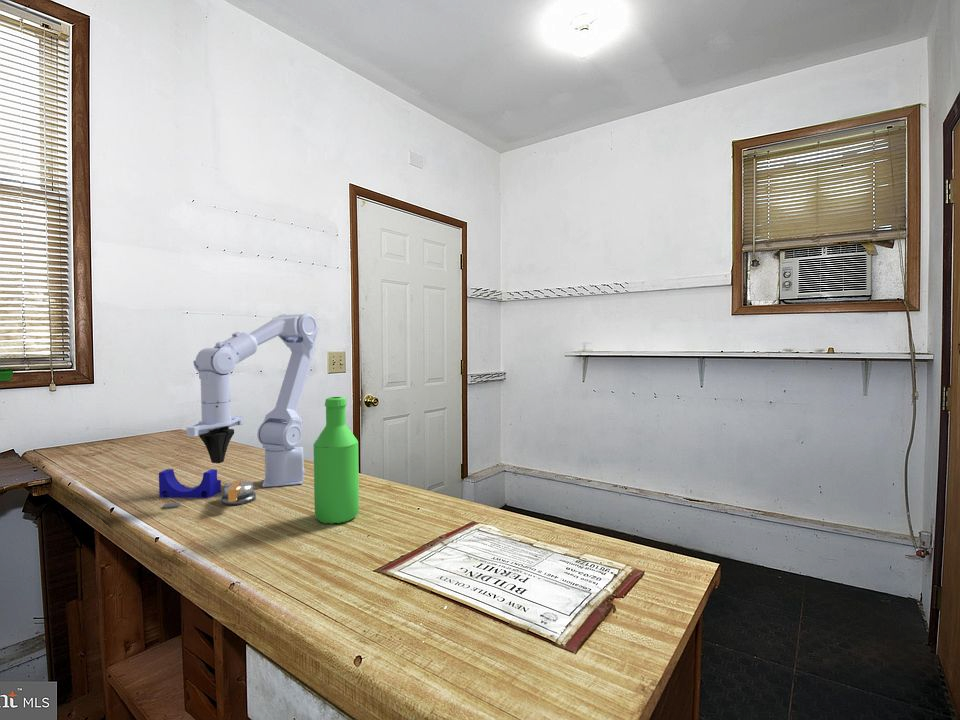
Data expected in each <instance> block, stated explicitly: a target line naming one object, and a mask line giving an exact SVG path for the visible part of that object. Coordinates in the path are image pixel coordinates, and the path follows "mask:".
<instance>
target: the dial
mask: <svg viewBox="0 0 960 720" xmlns="http://www.w3.org/2000/svg"><path fill="white" fill-rule="evenodd" d="M253 492H254V482H251V481H248V480H245V481H244V480H243V481H242V480H241V479H240V480H233V482H231V483H227V484H225V485H224V486H223V496H224V498H227V499H228V502H232V501H237V499H239V498H245V497H248V496H251V495H252V494H253Z"/></svg>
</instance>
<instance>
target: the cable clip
mask: <svg viewBox="0 0 960 720" xmlns="http://www.w3.org/2000/svg"><path fill="white" fill-rule="evenodd" d="M158 488H159V489H158V492H159V493H158V495H159V497H158V498H180V499H182V498H183V499H184V498H189V499H190V498H193V499H194V498H197V499H201V498H202V499H203V498H204V499H205V498H206V499H208V498H209V499H211V498H213V497H214V496H216V495H217V494H219V493H221V492H222V480H221V479H218V469H215V468H214V469H213V468H211V469H209V470H207V471H204V472H203V474H202V479H201V481H200V484H198V485H196V486H193V487H189V486H186V485H183V484H182V483H181V482H179V480H178V479H177V477H176V475H175V472H174V468H166V469H164V470H162V471H159V472H158Z"/></svg>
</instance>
